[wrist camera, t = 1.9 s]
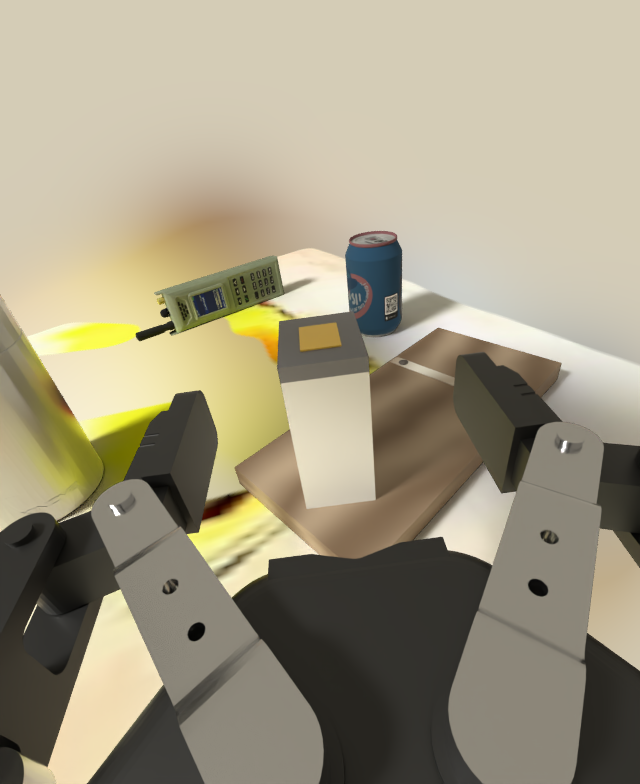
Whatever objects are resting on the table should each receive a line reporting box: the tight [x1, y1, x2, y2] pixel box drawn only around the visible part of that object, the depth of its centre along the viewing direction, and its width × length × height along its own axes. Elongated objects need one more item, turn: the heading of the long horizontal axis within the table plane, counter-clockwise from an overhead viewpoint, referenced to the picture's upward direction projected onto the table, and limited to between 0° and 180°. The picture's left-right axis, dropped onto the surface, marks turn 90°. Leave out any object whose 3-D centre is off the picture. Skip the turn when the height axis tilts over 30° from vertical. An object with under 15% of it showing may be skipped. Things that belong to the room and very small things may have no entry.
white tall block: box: [277, 312, 376, 509], centre depth 27 cm, size 5×6×12 cm
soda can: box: [345, 231, 402, 337], centre depth 51 cm, size 7×7×12 cm
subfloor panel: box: [235, 328, 561, 559], centre depth 37 cm, size 14×30×2 cm, turn 134°
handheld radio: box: [136, 256, 284, 341], centre depth 63 cm, size 7×3×25 cm
